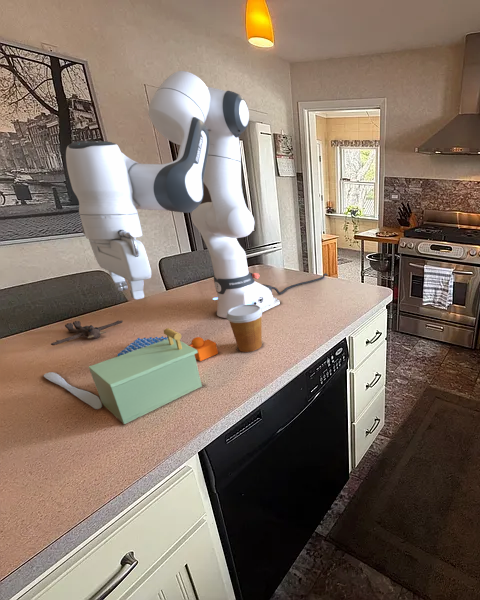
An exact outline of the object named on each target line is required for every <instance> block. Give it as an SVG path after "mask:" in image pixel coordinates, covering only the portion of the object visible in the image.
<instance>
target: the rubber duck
mask: <svg viewBox="0 0 480 600" xmlns="http://www.w3.org/2000/svg"><path fill="white" fill-rule="evenodd" d="M188 345H189V346H191V347H193V348H194V349H196V350H197V351H198V353H196V354H194V355H195V359H196V361H199V362H202V361H204V360H206V359H207V360H208V359H209V358H211V357H214V356H216V355H218V354H219V351H218V347H217V343H216V342H215V341H213V340H211V339H209V338H207V339H205V340H204V339H203V338H202V337H200V336H197V337H194V338H193V339H192V340H191V342H190V344H188Z"/></svg>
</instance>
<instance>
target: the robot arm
mask: <svg viewBox="0 0 480 600" xmlns="http://www.w3.org/2000/svg"><path fill="white" fill-rule="evenodd" d="M249 111H250V110H249V106H248V103H247V101H246V100H245V98H244V97H243V96H242V95H241V94H240V93H237V92H234V91H232V90H224V89H221V88H216V87H211V86H207V85H206V83H205V82H204V81H203V80H202V79H201V78H200V77H199V76H198V75H196V74H194V73H192V72H189V71H187V70H177V71H175V72H173V73H172V74H170V75H169V76H168V77H167V78H166V79H165V80H164V81H163V82H162V83H161V84H160V85H159V86H158V88H157V89H156V91H155V92H154V94H153V96H152V97H151V99H150V101H149V105H148V112H147V113H148V117H149V119H150V121H151V124H152V125H153V127H154V128H155V129H156V130H157V132H158V133H159V134H160V135H161V136H162V137H164V138H165V139H166V140H168V141H170V142H171V143H173V144H176V145H179V150H178V154H177V158H176V159H175V160H173V161H170V162H167V163H140V162H138V161H135V160H133V159H132V158H130V157H129V156H127V155H126V154H125V153H124V152H122V151H121V148H120V147H119V145H118V144H117V143H115V142H112V141H107V140H94V141H92V140H85V141H74V142H71V143H70V144H68V145H67V147H66V149H65V162H66V168H67V173H68V174H67V175H68V177H69V182H70V185H71V189H72V191H73V193H74V195H75V196H76V198H77V200H78V205H79V207H78V213H79V217H80V221H81V230H82V233H83V236H85V239H87V240H88V242H89V245H90V247H91V250H92V251H93V253H92V254H93V255H94V258H95V261H96V262H97V264H98V266H99V267H100V268H101V269H103V270H106V271H108V273H109V276H110V277H111V280H112V282H113V283H114V287H115V290H117V291H119V292H123V291H128V290H129V289H128V288H129V287H130V290H129V293H130V297H131V298H132V299H134V300H137V301H138V300H141V299H144V298H145V292H144V287H145V286H144V284H145V282H144V281H145V280H150V279H151V278H152V268H151V265H150V261H149V258H148V254H147V251H146V248H145V245H144V244H143V242H142V241H140V240H138V239H137V238H141V237H143V236H144V234H143V229H142V225H141V222H140V216H139V212H138V210H145V211H146V210H148V211H167V212H168V211H169V212H174V213H175V212H176V213H182V214H188V213H191V215H190V216H191V217H190V218H191V221H192V223H193V225H194V227H196V229H197V230H198V232H199V233H200V235H201V238H202V240H203V242H204V245H205V246H206V248H207V251H208V253H209V256H210V260H211V266H212V269H213V274H214V276H213V282H214V288H215V291H216V295H217V297H213V298H212V300H214V301H216V300H217V309H216V315H217V317H220V318H222V319H223V318H224V319H227V318H226V316H227V312H228V310H229V309H231V308H233V307H236V306H239V305H246V304H254V305H258V306H260V308H261V310H262V311H263V313H265V312H266V311H268V310H270V309H272V308H275V307H276V306H279V305H280V304H281V301H280V300H279V299H278V298H277V297H274V295H273V290H275V292H276V293H277V294H278V295H282V294H284V293H285V292H286V291H287V290H289V289H291V288H295V287H298V286H301V285H307V284H310V283H313V282H317V281H320V280H323V279H324V278H325V277H326V276H327V277H328V276H329V274H328V273H327V272H325V273H323V275H322V276H323V277H322V276H321V277H318V278H314V279H311V280H307V281H301V282H299V283H295V284H292V285H289V286H286V287H285V288H284V289H283V290H282V291H279V289H278V288H277V287H275V286H272V285H269V284H266V283H265V284H264V283H260V282H257V281H255V279H256V280H259V278H260V277H261V276H260V273H257V272H250V271H249V267H248V260H247V259H248V258H247V253H246V251H245V250H244V248H243V247H242V246H241V244H240V242H239V241H238V239H239V238H245V237H247V236H249V235H250V234H252V232H253V231H254V229H255V224H256V223H255V218H254V216H253V214H252V212H251V211H250V210H249V208H248V207H247V204H246V200H245V198H244V193H243V189H242V188H243V187H242V152H241V144H240V136H242V135H241V134H243V133H245V131H246V129H247V128H248V126H249V123H250V112H249ZM204 185H205V187H206V188H207V190H208V193H209V196H210V199H211V201H207V202H203V200H204V194H205V190H204ZM202 202H203V203H202ZM126 280H127V281H128V282H127V281H126ZM128 284H129V287H128Z"/></svg>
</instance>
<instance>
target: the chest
mask: <svg viewBox="0 0 480 600" xmlns="http://www.w3.org/2000/svg"><path fill="white" fill-rule="evenodd" d="M89 372H90V375H91V378H92V380H93V383H94V385H95V388H96V391H97V393H98V397H99V399H100V401H101V404H102V406H104V407H105V408H106V409H107V410H108V411H109V412H110V413H111V414H113V415H114V416H115V417H116V418H117V419H118V421H120V422H121V423H122V424H123V425H126V424H128V423H131V422H132V421H135V420H136V419H139V418H141V417H142V416H144V415H147V414H148V413H151V412H153V411H155V410H157V409H159V408H161V407H163V406H165V405H167V404H169V403H171V402H173V401H175V400H178V399H180V398H181V397H183V396H185V395H187V394H190V393H192V392H194V391H195V390H197V389H200V388H202V387H203V384H202V380H201V375H200V372H199V368H198V363H197V359H196V358H195V355H191V356H189V357H186V358H184V359H182V360H179V361H177V362H174V363H172V364H169V365H167V366H164V367H162V368H159V369H157V370H155V371H152V372H150V373H147V374H145V375H142V376H140V377H137V378H135V379H132V380H130V381H128V382H125V383H123V384H120V385H118V386H115V387H113V388H110V387H109V386H108V385H107V384H106V383H105V382H103V381H102V380H101V379H100V378H99V377H98V376H96V375H95V374H94V373H93V372H92V371H91V370H89Z"/></svg>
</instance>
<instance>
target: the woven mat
mask: <svg viewBox="0 0 480 600" xmlns="http://www.w3.org/2000/svg"><path fill="white" fill-rule="evenodd" d="M166 339H168V337H167V336H165V337H164V336H160V337H158V336H154V337H152V336H151V337H150V336H149V337H143V338H140V337H137V338H136V339H135V340H133V342H130V343H129V345H127V346H126V347H124V348H123V349H122V350H120V351H119V353H117V355H116V357H117V356H120V355H123V354H126V353H129V352H132V351H135V350H137V349H140V348H143V347H146V346H149V345H152V344H155V343H157V342H160V341H163V340H166Z"/></svg>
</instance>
